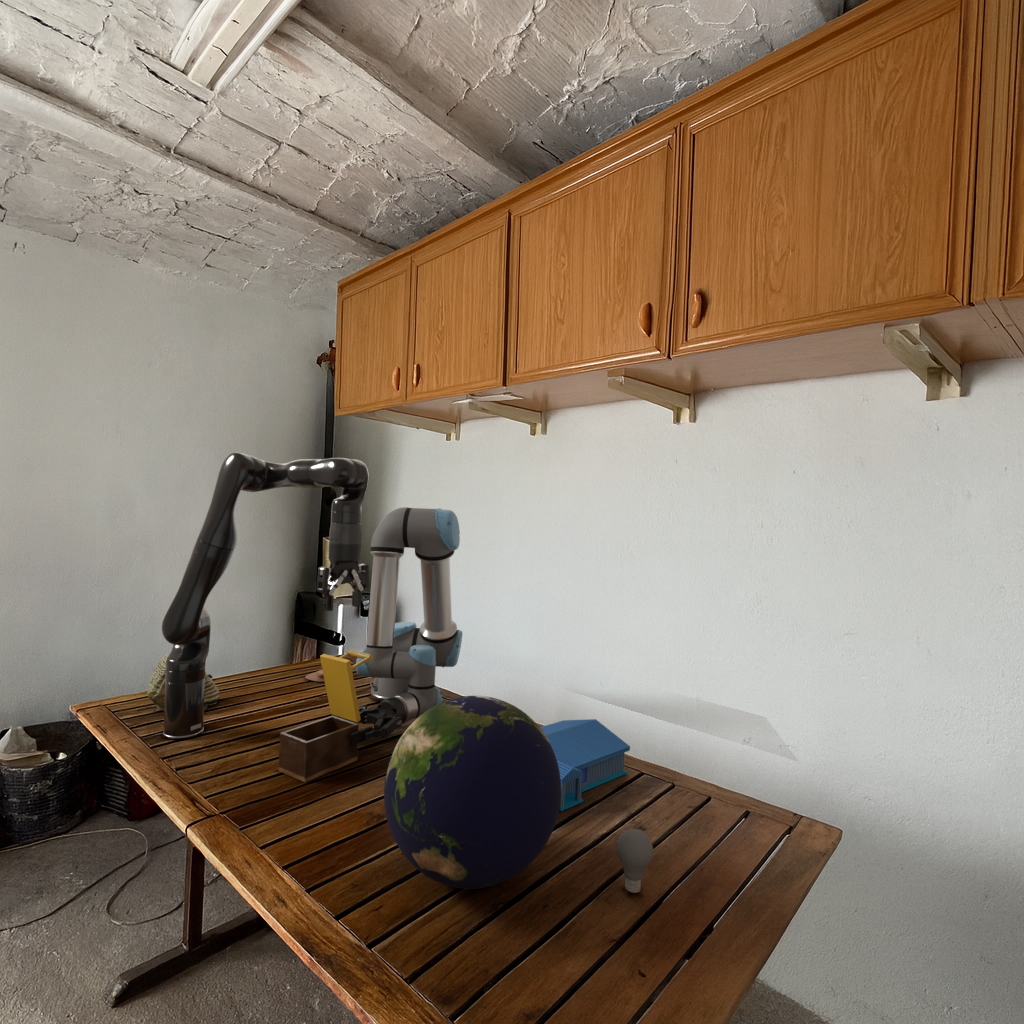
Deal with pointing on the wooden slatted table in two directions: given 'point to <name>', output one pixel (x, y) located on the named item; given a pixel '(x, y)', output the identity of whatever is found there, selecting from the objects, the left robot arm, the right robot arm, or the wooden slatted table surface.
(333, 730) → the chest
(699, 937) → the wooden slatted table surface
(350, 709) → the lid
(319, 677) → the anatomical model
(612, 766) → the model building
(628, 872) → the light bulb
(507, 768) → the globe
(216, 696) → the fossil
